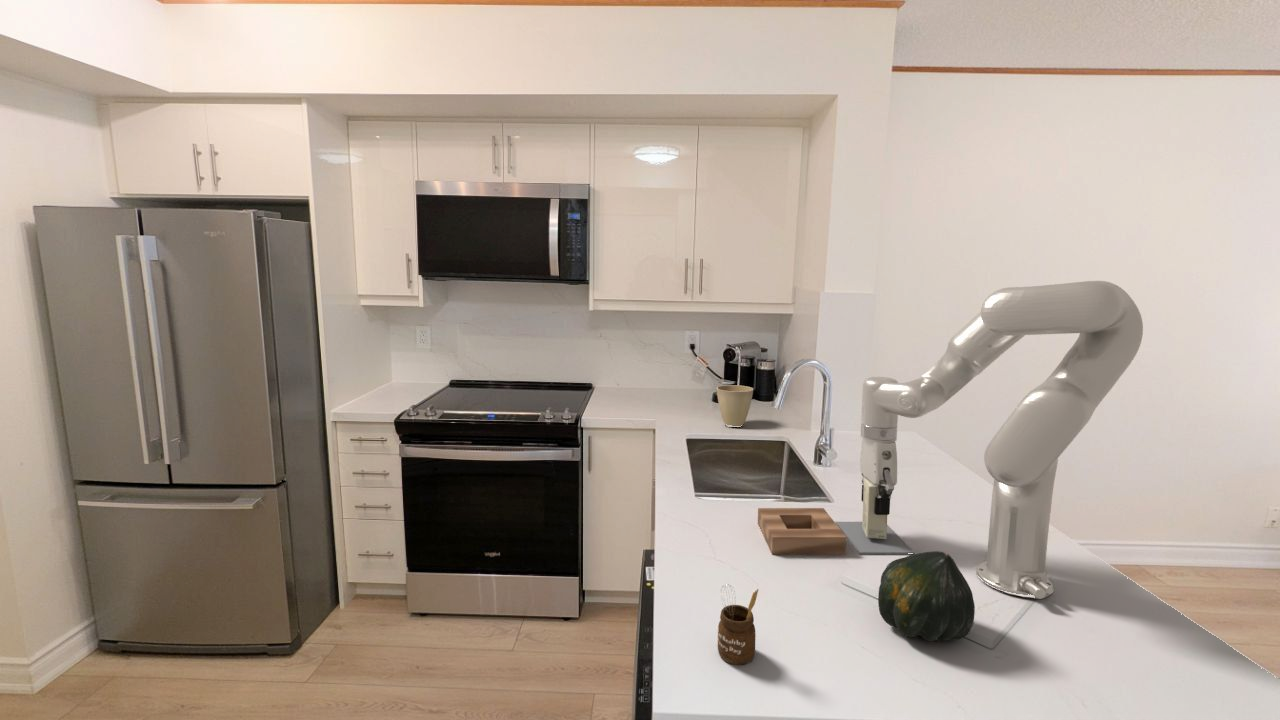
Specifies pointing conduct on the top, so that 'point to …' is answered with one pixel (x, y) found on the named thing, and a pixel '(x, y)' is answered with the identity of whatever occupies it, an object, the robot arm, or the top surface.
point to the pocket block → (801, 531)
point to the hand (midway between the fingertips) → (874, 507)
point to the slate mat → (873, 540)
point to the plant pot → (734, 403)
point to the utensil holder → (737, 632)
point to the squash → (926, 597)
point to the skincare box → (872, 513)
